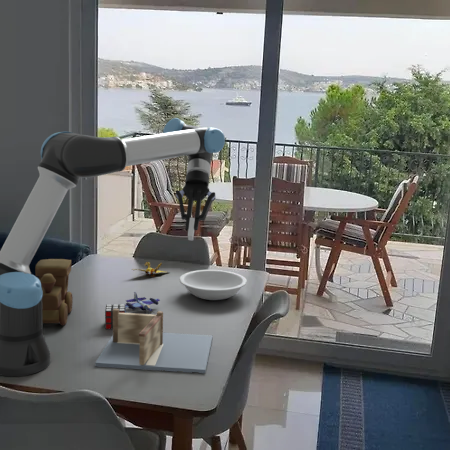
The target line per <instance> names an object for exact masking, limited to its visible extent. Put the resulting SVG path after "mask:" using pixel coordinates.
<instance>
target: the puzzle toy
mask: <svg viewBox="0 0 450 450" xmlns="http://www.w3.org/2000/svg"><path fill="white" fill-rule="evenodd" d="M113 309H119V313H127V311H126V310H127V309H126V303H123V304H118V303H116V304H114V303H113V304H111V303H110V304H109V303H108V304H105V309H104V313H105V315H104V325H105V326H104V327H105V330H113Z"/></svg>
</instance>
